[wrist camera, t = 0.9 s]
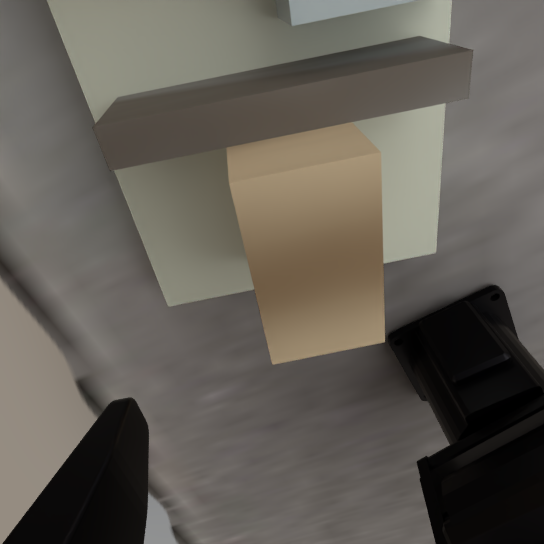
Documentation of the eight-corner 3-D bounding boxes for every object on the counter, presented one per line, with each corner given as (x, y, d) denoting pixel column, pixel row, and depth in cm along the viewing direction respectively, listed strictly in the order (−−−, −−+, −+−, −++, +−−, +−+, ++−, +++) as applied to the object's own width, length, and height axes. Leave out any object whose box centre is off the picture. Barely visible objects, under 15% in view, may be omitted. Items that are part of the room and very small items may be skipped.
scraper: (414, 227, 18) (489, 320, 13) (180, 275, 18) (168, 385, 13) (419, 36, 14) (532, 66, 9) (117, 97, 14) (64, 161, 9)
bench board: (418, 231, 21) (436, 252, 19) (171, 280, 21) (168, 306, 19) (439, -416, 10) (482, -492, 9) (-50, -315, 10) (-101, -371, 9)
